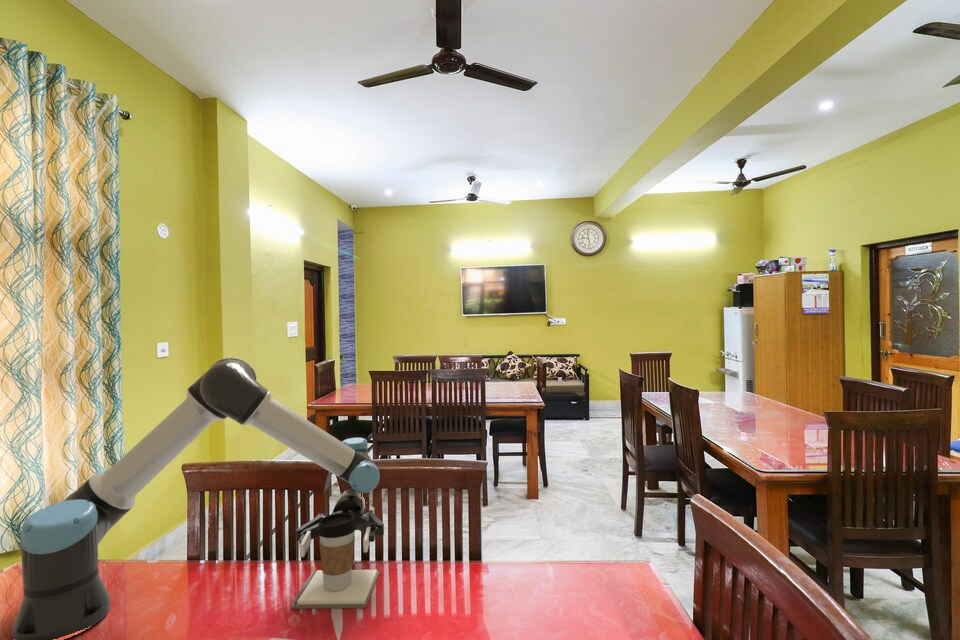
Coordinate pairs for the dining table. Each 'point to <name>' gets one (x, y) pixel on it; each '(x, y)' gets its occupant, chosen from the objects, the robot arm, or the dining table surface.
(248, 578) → the dining table surface
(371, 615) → the dining table surface
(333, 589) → the coffee cup
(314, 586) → the notepad
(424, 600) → the dining table surface
